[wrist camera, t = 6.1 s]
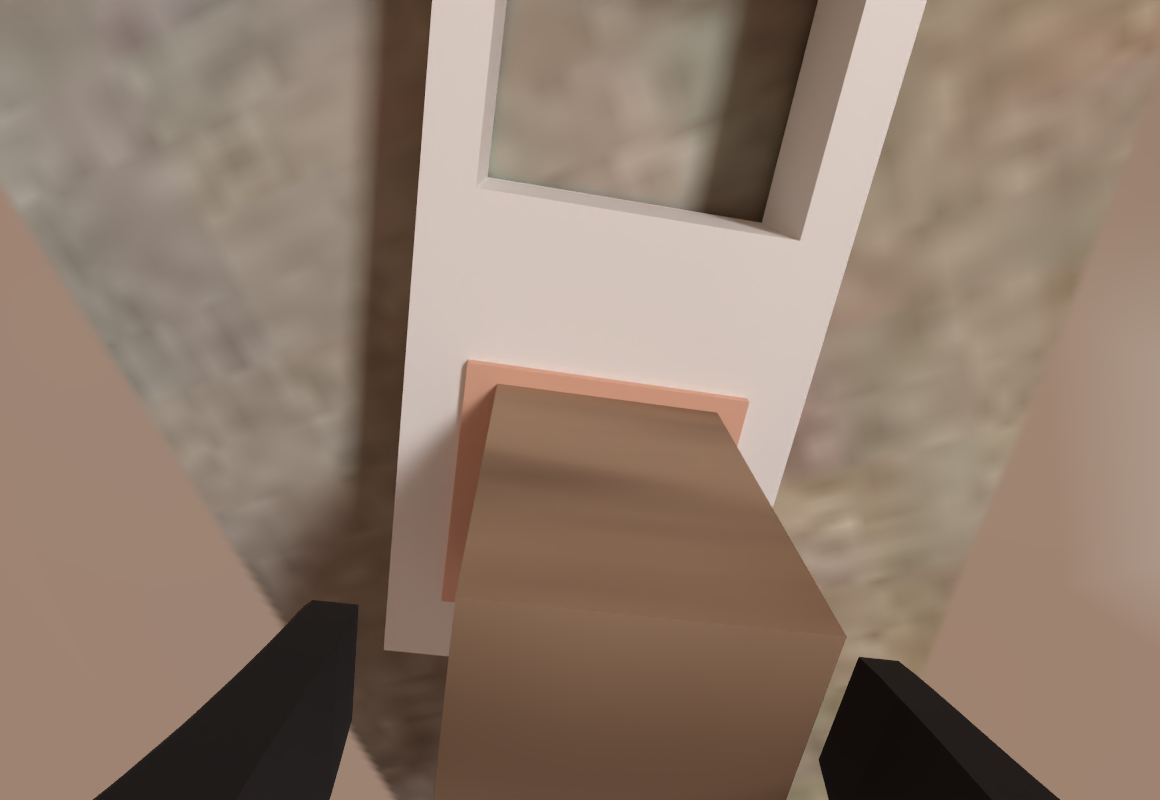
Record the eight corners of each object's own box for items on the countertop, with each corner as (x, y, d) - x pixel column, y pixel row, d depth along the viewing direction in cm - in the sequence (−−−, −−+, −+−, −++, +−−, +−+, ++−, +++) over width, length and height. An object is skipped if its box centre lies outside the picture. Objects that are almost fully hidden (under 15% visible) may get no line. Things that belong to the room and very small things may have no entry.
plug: (672, 592, 15) (750, 893, 9) (474, 572, 15) (425, 873, 9) (717, 412, 14) (846, 637, 8) (497, 383, 13) (454, 596, 7)
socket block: (698, 614, 19) (721, 689, 17) (404, 582, 18) (381, 656, 16) (921, -188, 13) (1013, -265, 10) (478, -290, 12) (459, -401, 9)
